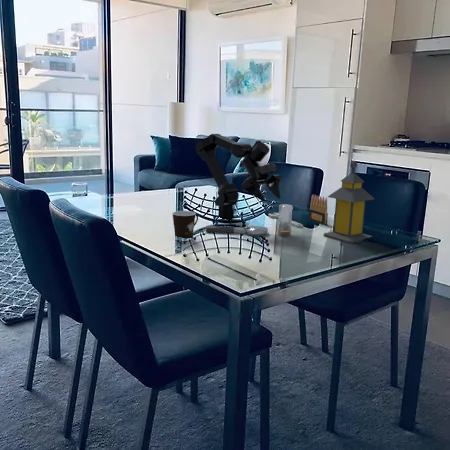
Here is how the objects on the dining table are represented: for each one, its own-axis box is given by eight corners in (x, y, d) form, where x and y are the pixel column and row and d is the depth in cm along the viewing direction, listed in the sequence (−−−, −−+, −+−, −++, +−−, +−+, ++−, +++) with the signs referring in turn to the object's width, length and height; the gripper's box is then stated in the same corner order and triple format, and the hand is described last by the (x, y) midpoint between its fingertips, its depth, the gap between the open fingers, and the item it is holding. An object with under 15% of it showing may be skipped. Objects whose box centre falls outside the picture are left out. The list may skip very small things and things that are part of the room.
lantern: (322, 235, 196) (327, 160, 189) (344, 231, 205) (351, 158, 198) (350, 244, 186) (357, 164, 178) (373, 238, 194) (380, 162, 187)
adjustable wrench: (304, 228, 209) (304, 224, 209) (290, 229, 207) (290, 225, 207) (278, 215, 232) (278, 212, 231) (265, 216, 230) (265, 212, 229)
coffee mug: (177, 243, 181) (177, 216, 179) (169, 237, 188) (169, 211, 186) (206, 240, 186) (206, 214, 184) (196, 234, 194) (197, 209, 191)
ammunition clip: (327, 224, 215) (329, 197, 212) (324, 225, 214) (326, 198, 211) (311, 219, 224) (313, 193, 221) (308, 220, 223) (309, 193, 220)
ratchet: (205, 234, 194) (205, 228, 194) (207, 228, 203) (207, 223, 202) (267, 236, 193) (268, 231, 192) (267, 231, 201) (267, 225, 201)
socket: (277, 236, 193) (279, 206, 190) (277, 233, 198) (278, 204, 196) (291, 237, 193) (292, 207, 190) (290, 233, 198) (292, 204, 195)
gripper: (247, 157, 192) (266, 189, 187) (279, 155, 204) (298, 185, 199) (233, 175, 200) (251, 206, 194) (265, 172, 212) (283, 201, 206)
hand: (271, 199), depth 198 cm, fingers open, 9 cm apart
